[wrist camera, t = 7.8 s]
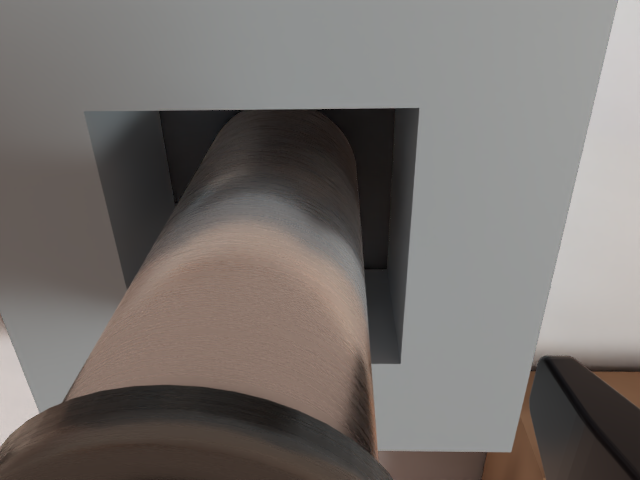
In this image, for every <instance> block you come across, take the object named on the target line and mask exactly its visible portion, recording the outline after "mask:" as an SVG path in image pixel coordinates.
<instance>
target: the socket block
mask: <svg viewBox="0 0 640 480" xmlns="http://www.w3.org/2000/svg"><path fill="white" fill-rule="evenodd" d="M617 3H618V0H0V314H1V316H2V319H3V322H4V324H5V327H6V329H7V332H8V334H9V337H10V339H11V342H12V344H13V347H14V349H15V352H16V354H17V357H18V359H19V362H20V365H21V367H22V370H23V372H24V375H25V377H26V380H27V382H28V385H29V387H30V390H31V392H32V395H33V397H34V400H35V403H36V405H37V408H38V410H39V413H41V412H43V411H45V410H47V409H48V408H51V407H53V406H56V405H58V404H60V403H62V402H63V400H64V398H65V396H66V395H67V393H68V391H69V390H70V388H71V386H72V384H73V383H74V381H75V379H76V377H77V376H78V374H79V372H80V371H81V369H82V367H83V365H84V364H85V362H86V360H87V359H88V357H89V355H90V353H91V352H92V350H93V348H94V346H95V345H96V343H97V341H98V340H99V338H100V336H101V334H102V333H103V331H104V329H105V328H106V326H107V324H108V322H109V321H110V319H111V317H112V316H113V314H114V312H115V310H116V309H117V307H118V305H119V303H120V302H121V300H122V298H123V297H124V295H125V293H126V291H127V290H128V288H129V286H130V285H131V283H132V281H133V279H134V278H135V276H136V274H137V272H138V271H139V269H140V267H141V266H142V264H143V262H144V260H145V259H146V257H147V255H148V254H149V252H150V250H151V248H152V247H153V245H154V243H155V241H156V240H157V238H158V236H159V235H160V233H161V231H162V229H163V228H164V226H165V224H166V223H167V221H168V219H169V217H170V216H171V214H172V212H173V211H174V209H175V203H174V197H173V191H172V185H171V180H170V174H169V168H168V162H167V156H166V150H165V144H164V139H163V133H162V127H161V121H160V115H159V111H167V110H263V109H360V108H395V124H394V144H393V163H392V183H391V202H390V222H389V241H388V261H387V269H364V274H365V287H366V300H367V314H368V327H369V340H370V354H371V367H372V380H373V394H374V407H375V420H376V434H377V447H378V451H440V452H511V451H512V447H513V443H514V439H515V434H516V430H517V426H518V422H519V417H520V413H521V409H522V405H523V401H524V396H525V392H526V388H527V384H528V379H529V375H530V371H531V367H532V362H533V358H534V354H535V350H536V345H537V341H538V337H539V333H540V329H541V324H542V320H543V316H544V312H545V307H546V303H547V299H548V295H549V290H550V286H551V282H552V278H553V274H554V269H555V265H556V261H557V257H558V252H559V248H560V244H561V240H562V235H563V231H564V227H565V223H566V218H567V214H568V210H569V206H570V202H571V197H572V193H573V189H574V185H575V180H576V176H577V172H578V168H579V163H580V159H581V155H582V151H583V147H584V142H585V138H586V134H587V130H588V125H589V121H590V117H591V113H592V108H593V104H594V100H595V96H596V91H597V87H598V83H599V79H600V75H601V70H602V66H603V62H604V58H605V53H606V49H607V45H608V41H609V36H610V32H611V28H612V24H613V20H614V15H615V11H616V7H617Z"/></svg>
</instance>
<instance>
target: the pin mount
mask: <svg viewBox="0 0 640 480" xmlns="http://www.w3.org/2000/svg"><path fill="white" fill-rule="evenodd" d="M535 372H536V371H530V375H529V379H528V384H527V388H526V392H525V396H524V401H523V405H522V409H521V413H520V417H519V422H518V426H517V430H516V434H515V439H514V443H513V447H512V451H511V452H487V455H486V460H485V465H484V470H483V475H482V480H546V478H545V474H544V470H543V465H542V461H541V457H540V453H539V449H538V444H537V440H536V436H535V432H534V427H533V423H532V419H531V415H530V408H529V398H530V393H531V389H532V385H533V381H534V376H535ZM593 373H594V374H596V375H597V376H598V377H600V378H601V379H602V380H603V381H605V382H606V383H607V384H609V385H610V386H611V387H613V388H614V389H615V390H616V391H618V392H619V393H620V394H622V395H623V396H624V397H626V398H627V399H628V400H629V401H631V402H632V403H633V404H635V405H636V406H637V407H639V408H640V372H593Z"/></svg>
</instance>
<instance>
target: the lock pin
mask: <svg viewBox="0 0 640 480" xmlns="http://www.w3.org/2000/svg"><path fill="white" fill-rule="evenodd" d="M0 480H393V479H392V477H391V476H390V474H389V473H388V472H387V471H386V470H385V469H384V467H383V466H382V465H381V464H380V463H379V460H378V447H377V434H376V420H375V407H374V394H373V380H372V367H371V354H370V340H369V327H368V314H367V300H366V287H365V274H364V260H363V247H362V234H361V220H360V207H359V194H358V180H357V167H356V161H355V156H354V153H353V151H352V148H351V146H350V144H349V142H348V140H347V138H346V137H345V135H344V134H343V132H342V131H341V130H340V129H339V128H338V127H337V126H336V124H335V123H333V122H332V121H331V120H330V119H329V118H327V117H326V116H325V115H323V114H321V113H320V112H318V111H316V110H314V109H263V110H243V111H241V112H239V113H238V114H237V115H235V116H234V117H232V118H231V119H230V120H229V121H228V122H227V123H226V124H225V125H224V126H223V128H222V129H221V130H220V132H219V133H218V135H217V136H216V138H215V140H214V142H213V143H212V145H211V147H210V149H209V150H208V152H207V154H206V155H205V157H204V159H203V161H202V162H201V164H200V166H199V167H198V169H197V171H196V173H195V174H194V176H193V178H192V180H191V181H190V183H189V185H188V186H187V188H186V190H185V192H184V193H183V195H182V197H181V198H180V200H179V202H178V204H177V205H176V207H175V209H174V211H173V212H172V214H171V216H170V217H169V219H168V221H167V223H166V224H165V226H164V228H163V229H162V231H161V233H160V235H159V236H158V238H157V240H156V241H155V243H154V245H153V247H152V248H151V250H150V252H149V254H148V255H147V257H146V259H145V260H144V262H143V264H142V266H141V267H140V269H139V271H138V272H137V274H136V276H135V278H134V279H133V281H132V283H131V285H130V286H129V288H128V290H127V291H126V293H125V295H124V297H123V298H122V300H121V302H120V303H119V305H118V307H117V309H116V310H115V312H114V314H113V316H112V317H111V319H110V321H109V322H108V324H107V326H106V328H105V329H104V331H103V333H102V334H101V336H100V338H99V340H98V341H97V343H96V345H95V346H94V348H93V350H92V352H91V353H90V355H89V357H88V359H87V360H86V362H85V364H84V365H83V367H82V369H81V371H80V372H79V374H78V376H77V377H76V379H75V381H74V383H73V384H72V386H71V388H70V390H69V391H68V393H67V395H66V396H65V398H64V400H63V402H62V403H60V404H58V405H56V406H53V407H51V408H48V409H47V410H45V411H43V412H41V413H40V414H38V415H36V416H34V417H33V418H31V419H29V420H28V421H26V422H25V423H24V424H23V425H22V426H20V427H19V428H18V429H17V430H15V431H14V432H13V433H12V434H11V435H10V436H9V437H8V438H7V439H6V441H5V442H4V443H3V444H2V446H1V447H0Z"/></svg>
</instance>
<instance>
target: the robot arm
mask: <svg viewBox="0 0 640 480" xmlns="http://www.w3.org/2000/svg"><path fill="white" fill-rule="evenodd" d="M529 408H530V415H531V419H532V423H533V427H534V432H535V436H536V440H537V444H538V449H539V453H540V457H541V461H542V465H543V470H544V474H545V478H546V480H640V408H639V407H637V406H636V405H635V404H633V403H632V402H631V401H629V400H628V399H627V398H626V397H624V396H623V395H622V394H620V393H619V392H618V391H616V390H615V389H614V388H613V387H611V386H610V385H609V384H607V383H606V382H605V381H603V380H602V379H601V378H600V377H598V376H597V375H596V374H594V373H593V372H592V371H590V370H589V369H588V368H587V367H585V366H584V365H583V364H581V363H580V362H579V361H577V360H576V359H574V358H573V357H571V356H543V357H541V358H540V360H539V362H538V364H537V368H536V372H535V376H534V381H533V385H532V389H531V393H530V398H529Z"/></svg>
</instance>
